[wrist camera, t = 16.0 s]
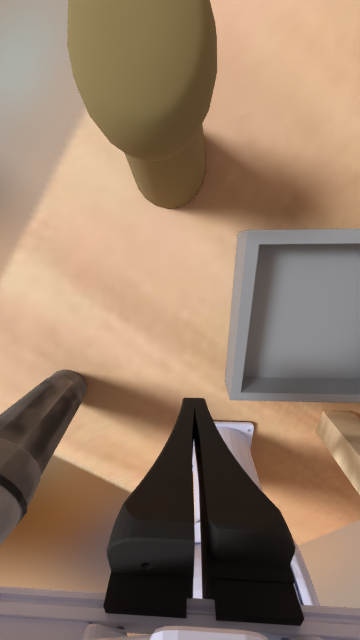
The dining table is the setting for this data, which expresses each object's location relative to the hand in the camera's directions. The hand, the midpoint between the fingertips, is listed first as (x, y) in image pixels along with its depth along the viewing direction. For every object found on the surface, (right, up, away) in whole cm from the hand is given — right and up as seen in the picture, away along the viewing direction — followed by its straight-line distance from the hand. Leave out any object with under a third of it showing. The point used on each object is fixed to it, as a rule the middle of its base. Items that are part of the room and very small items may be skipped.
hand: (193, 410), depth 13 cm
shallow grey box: (+15, +6, +7) cm, 18 cm away
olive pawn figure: (-2, +18, +4) cm, 19 cm away
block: (+18, -7, +12) cm, 23 cm away
